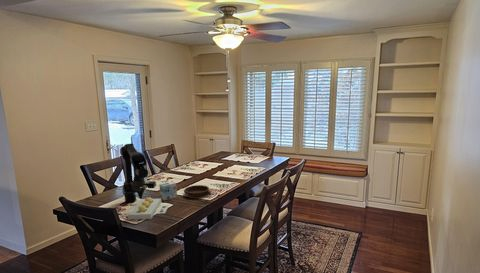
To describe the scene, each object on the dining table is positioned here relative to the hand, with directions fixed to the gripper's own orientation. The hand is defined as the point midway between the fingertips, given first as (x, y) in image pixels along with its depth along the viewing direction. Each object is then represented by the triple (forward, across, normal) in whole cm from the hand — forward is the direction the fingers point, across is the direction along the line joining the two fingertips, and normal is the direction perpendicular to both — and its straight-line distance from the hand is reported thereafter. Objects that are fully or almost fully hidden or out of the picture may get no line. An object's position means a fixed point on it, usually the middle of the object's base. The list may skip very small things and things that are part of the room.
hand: (141, 198), depth 183 cm
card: (+11, +11, +7) cm, 17 cm away
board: (+11, 0, +7) cm, 13 cm away
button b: (+9, 0, +7) cm, 12 cm away
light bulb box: (+11, +10, +29) cm, 33 cm away
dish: (+11, +30, +32) cm, 46 cm away
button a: (+9, 0, 0) cm, 9 cm away
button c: (+9, 0, +14) cm, 17 cm away
